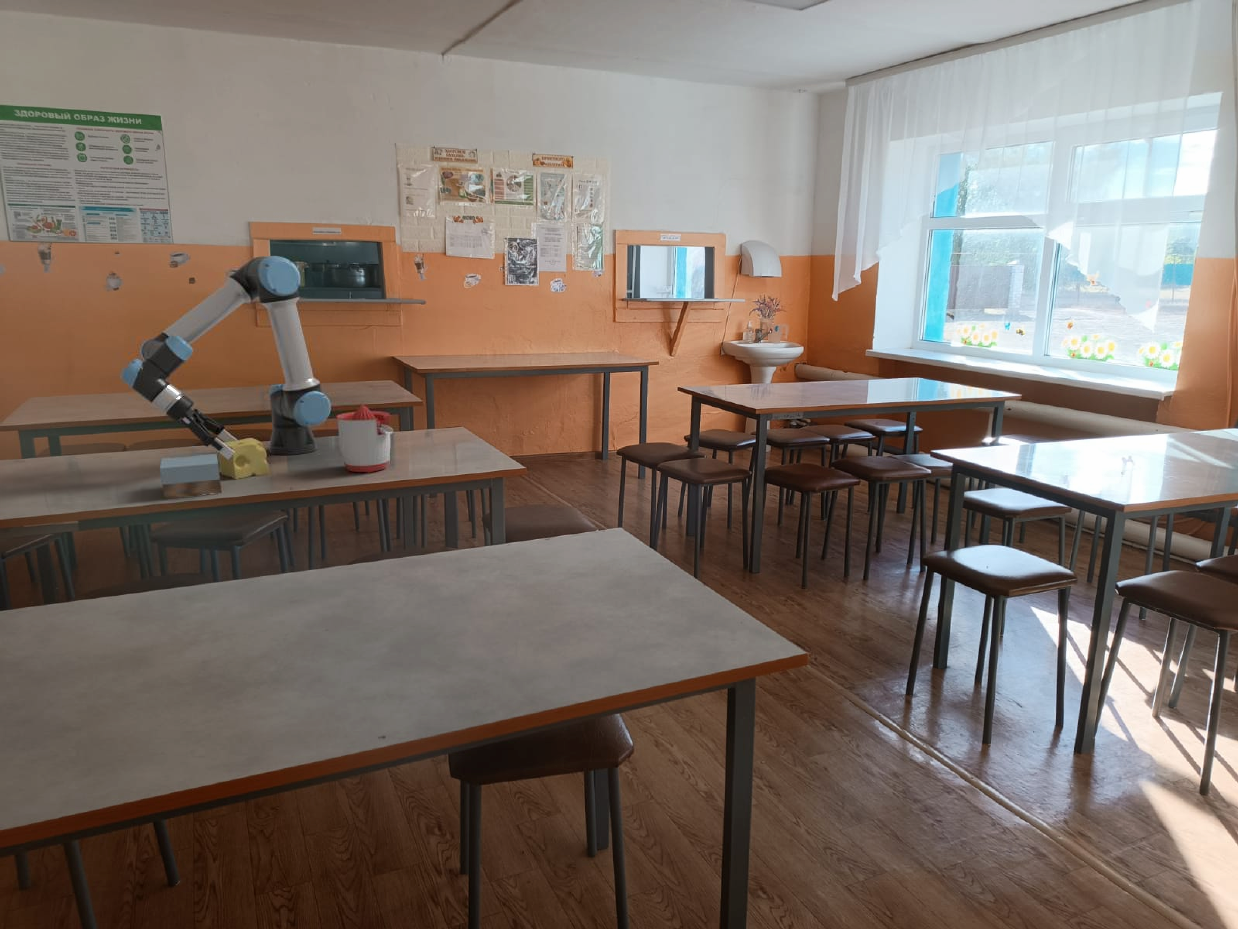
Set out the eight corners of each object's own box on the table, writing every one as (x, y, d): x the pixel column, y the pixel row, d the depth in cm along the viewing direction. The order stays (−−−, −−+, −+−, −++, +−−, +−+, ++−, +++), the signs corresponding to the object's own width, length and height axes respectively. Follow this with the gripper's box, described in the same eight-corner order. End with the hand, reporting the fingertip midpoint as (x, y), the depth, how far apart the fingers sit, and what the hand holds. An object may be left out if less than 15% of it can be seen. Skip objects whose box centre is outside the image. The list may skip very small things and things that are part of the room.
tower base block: (219, 483, 246) (218, 468, 245) (221, 495, 234) (220, 479, 233) (165, 489, 240) (163, 474, 239) (164, 501, 227) (162, 484, 226)
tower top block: (218, 468, 245) (216, 453, 244) (219, 479, 232) (217, 463, 231) (163, 473, 239) (161, 458, 238) (161, 484, 226) (159, 468, 225)
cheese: (269, 474, 256) (266, 441, 254) (233, 480, 248) (230, 447, 246) (254, 468, 263) (251, 437, 261) (219, 474, 255) (215, 442, 253)
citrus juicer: (377, 477, 252) (373, 410, 248) (329, 472, 258) (324, 407, 253) (407, 466, 266) (404, 403, 262) (361, 461, 272) (357, 400, 268)
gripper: (174, 406, 257) (232, 452, 265) (154, 420, 234) (219, 469, 241) (191, 388, 257) (249, 434, 265) (173, 400, 234) (237, 450, 242)
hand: (235, 451), depth 253 cm, fingers open, 13 cm apart
